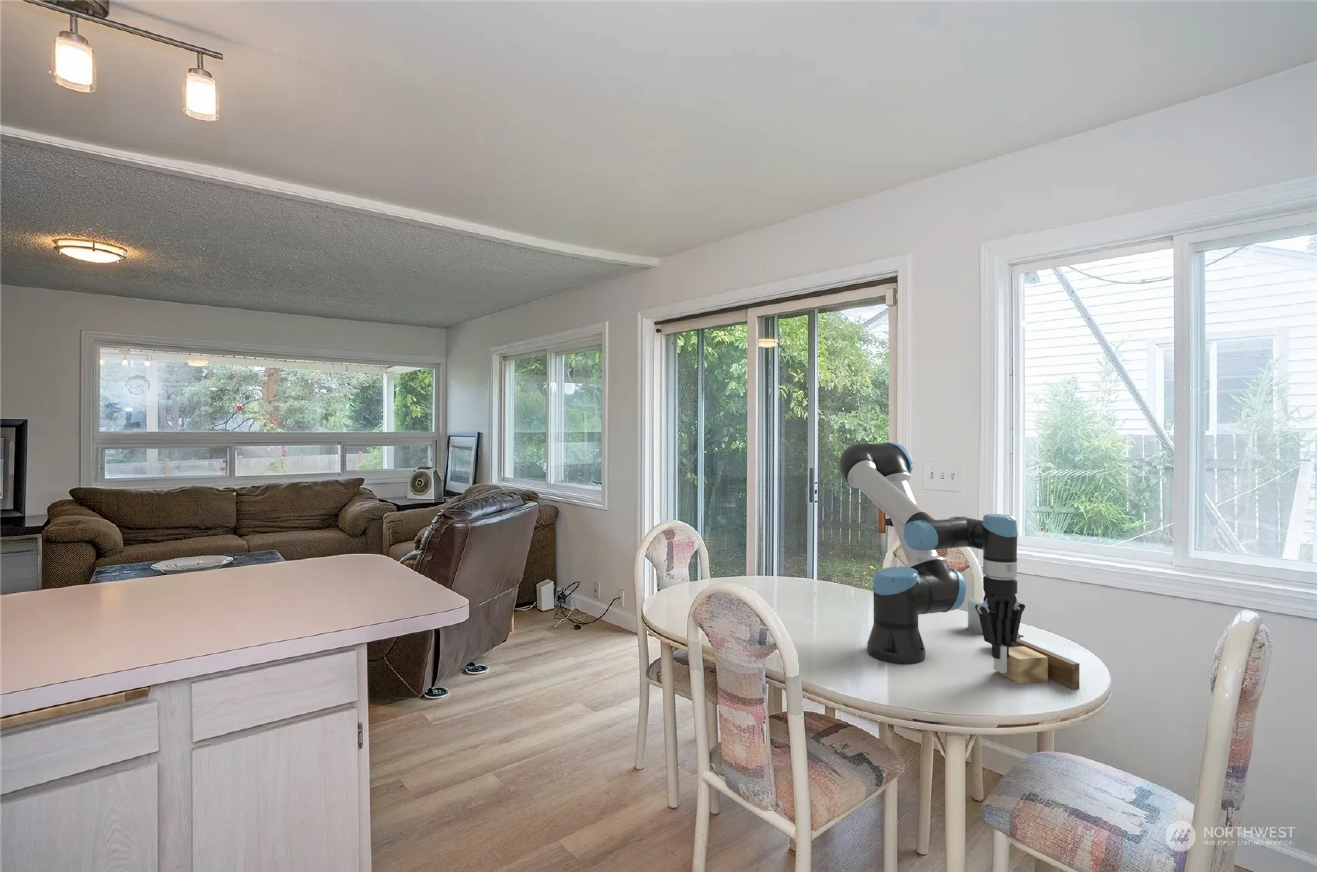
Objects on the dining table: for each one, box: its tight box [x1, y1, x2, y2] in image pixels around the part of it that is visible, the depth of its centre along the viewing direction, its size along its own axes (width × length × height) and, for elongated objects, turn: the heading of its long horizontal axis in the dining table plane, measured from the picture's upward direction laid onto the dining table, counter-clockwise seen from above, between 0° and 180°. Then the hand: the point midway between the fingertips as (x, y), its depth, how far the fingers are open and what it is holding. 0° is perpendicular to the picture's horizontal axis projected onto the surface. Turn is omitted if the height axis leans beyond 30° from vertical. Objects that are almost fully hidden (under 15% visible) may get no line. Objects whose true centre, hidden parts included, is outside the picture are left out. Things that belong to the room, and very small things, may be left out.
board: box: [1011, 638, 1080, 690], centre depth 161 cm, size 2×20×6 cm, turn 13°
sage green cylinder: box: [967, 597, 989, 635], centre depth 195 cm, size 8×8×9 cm
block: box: [996, 646, 1049, 685], centre depth 159 cm, size 8×8×6 cm
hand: (1000, 670), depth 158 cm, fingers closed
